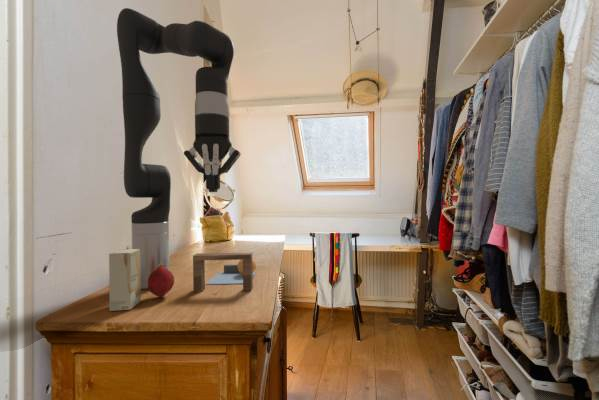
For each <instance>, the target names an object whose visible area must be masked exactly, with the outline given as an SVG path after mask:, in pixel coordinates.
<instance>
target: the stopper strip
mask: <svg viewBox="0 0 599 400" xmlns="http://www.w3.org/2000/svg"><path fill="white" fill-rule="evenodd" d="M223 273H240V272H239V271H238V264H224V265H223Z"/></svg>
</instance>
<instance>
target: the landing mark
mask: <svg viewBox="0 0 599 400" xmlns="http://www.w3.org/2000/svg"><path fill="white" fill-rule="evenodd" d="M255 276H256V272H255V271H254V272H253V278H255ZM207 285H209V286H210V285H243V275H242V274H241V273H224V272H217V273H216V274H215V275H214V276H212V277H211V279H209V281H207V282H206V283H205V286H207Z"/></svg>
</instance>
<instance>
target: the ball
mask: <svg viewBox="0 0 599 400" xmlns="http://www.w3.org/2000/svg"><path fill="white" fill-rule="evenodd" d="M237 265H238V271H239V272H240V273H241V274H242V275H243V260H238V263H237ZM256 265H257V264H256V262H255V260H254V259H253V258H252V269H253V272H255V271H256Z"/></svg>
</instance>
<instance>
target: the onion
mask: <svg viewBox="0 0 599 400" xmlns="http://www.w3.org/2000/svg"><path fill="white" fill-rule="evenodd" d="M174 284H175V277H174V274H173V273H172V272H171V271H170V269H169V270H168V269H166V268H164V264H160V265H159V266H158V267H157V268H156V269H155V270H154V271H153V272H152V273H151V274H150V276H149V278H148V281H147V285H148V288H147V289H148V291H149V292H150V293H151V294H152V295H154V296H156V297H158V298H164V297H165V295H166V294H168V293H169V292H170V290H172V288H173V287H174Z"/></svg>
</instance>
